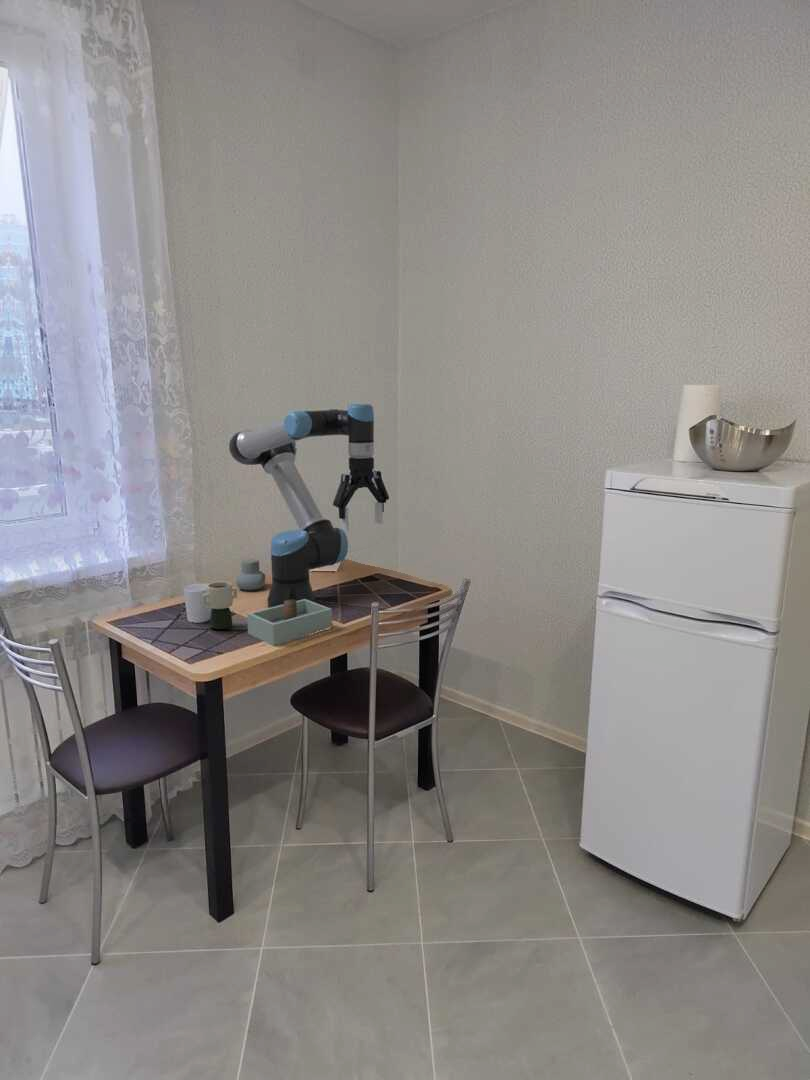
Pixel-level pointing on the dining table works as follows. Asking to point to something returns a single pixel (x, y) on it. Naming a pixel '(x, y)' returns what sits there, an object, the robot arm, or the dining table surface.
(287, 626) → the box
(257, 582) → the air freshener
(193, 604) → the white cup
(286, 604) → the peg
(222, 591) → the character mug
